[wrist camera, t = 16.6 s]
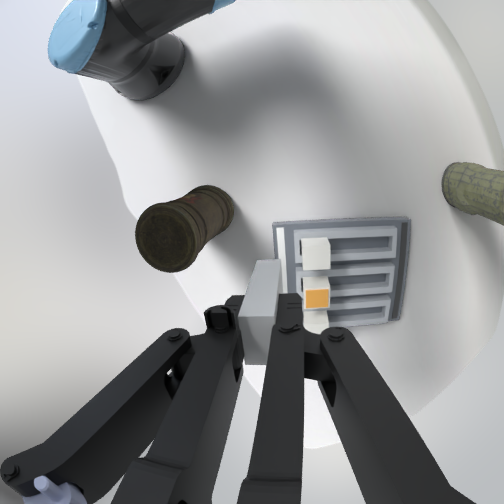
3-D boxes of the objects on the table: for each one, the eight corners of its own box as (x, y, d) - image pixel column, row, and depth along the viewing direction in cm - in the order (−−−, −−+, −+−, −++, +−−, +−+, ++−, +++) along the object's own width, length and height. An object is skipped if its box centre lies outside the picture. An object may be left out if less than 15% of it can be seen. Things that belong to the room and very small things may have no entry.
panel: (273, 222, 46) (269, 236, 38) (406, 216, 42) (427, 229, 34) (280, 322, 52) (277, 350, 44) (396, 314, 48) (410, 339, 40)
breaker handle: (302, 270, 46) (303, 289, 40) (325, 269, 45) (330, 287, 39) (302, 289, 47) (304, 309, 41) (325, 288, 46) (329, 308, 40)
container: (244, 207, 46) (216, 236, 29) (213, 244, 49) (173, 289, 32) (204, 174, 45) (155, 184, 28) (175, 212, 48) (120, 242, 31)
